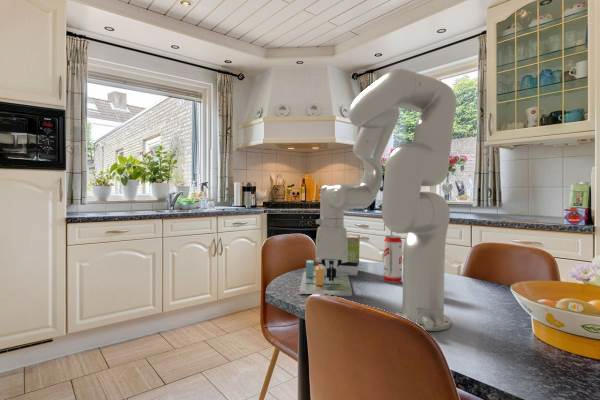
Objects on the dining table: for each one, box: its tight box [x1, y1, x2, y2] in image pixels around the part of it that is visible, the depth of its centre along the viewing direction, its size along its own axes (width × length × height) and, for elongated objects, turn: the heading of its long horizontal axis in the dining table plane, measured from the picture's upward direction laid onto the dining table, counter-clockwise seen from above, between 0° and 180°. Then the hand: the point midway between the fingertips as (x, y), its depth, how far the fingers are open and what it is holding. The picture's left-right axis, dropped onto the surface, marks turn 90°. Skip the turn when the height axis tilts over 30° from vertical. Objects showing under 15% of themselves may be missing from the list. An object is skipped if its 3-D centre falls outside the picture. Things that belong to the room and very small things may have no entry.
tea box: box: [318, 233, 361, 277], centre depth 135 cm, size 15×10×15 cm
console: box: [298, 270, 353, 297], centre depth 117 cm, size 24×16×2 cm, turn 176°
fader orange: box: [315, 266, 324, 285], centre depth 112 cm, size 4×2×5 cm, turn 176°
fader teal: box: [305, 259, 315, 277], centre depth 122 cm, size 4×2×5 cm, turn 176°
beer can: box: [382, 234, 403, 285], centre depth 121 cm, size 6×6×16 cm
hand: (331, 279), depth 112 cm, fingers closed
